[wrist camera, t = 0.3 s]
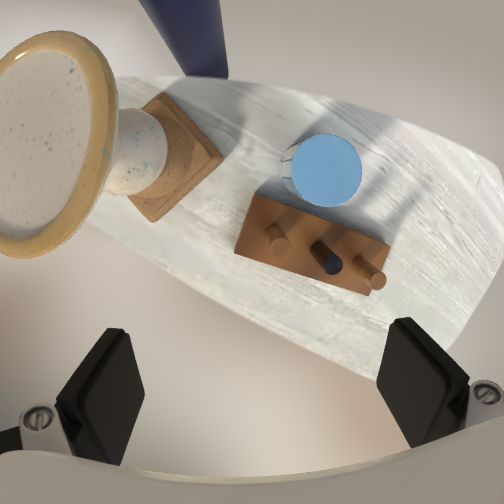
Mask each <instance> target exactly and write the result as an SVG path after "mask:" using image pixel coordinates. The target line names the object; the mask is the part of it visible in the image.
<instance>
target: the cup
mask: <svg viewBox="0 0 504 504" xmlns="http://www.w3.org/2000/svg"><path fill="white" fill-rule="evenodd" d="M280 162H282V163H280V177H282V178H281V180H282V182H283V184H284V185H285V187H286V189H287V190H288V191H289V192H290V193H292V194H294V195H295V196H297V197H299V198H301V199H303V200H305V201H307V202H309V203H312V204H314V205H317V206H323V207H333V206H338V205H341V204H343V203H345V202H346V201H348V200H349V199H350V198H351V197H352V196H353V195H354V194H355V192H356V191H357V189H358V187H359V185H360V182H361V177H362V166H361V161H360V158H359V156H358V154H357V152H356V150H355V149H354V148H353V146H352V145H351V144H350V143H348V142H347V141H346V140H344V139H343V138H341V137H339V136H336V135H332V134H317V135H314V136H312V137H310V138H308V139H306V140H304V141H302V142H300V143H298V144H296V145H294V146H292V147H290V148H289V149H288V150H287V151H286V153H285V154H284V156H283V158H282V159H281V161H280Z"/></svg>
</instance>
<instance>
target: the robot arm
mask: <svg viewBox="0 0 504 504" xmlns="http://www.w3.org/2000/svg"><path fill="white" fill-rule="evenodd" d="M469 379H470V377H469V376H468V375H467V374H466V373H465V372H464V370H463V369H462V368H461V367H460V366H458V364H457V363H456V362H455V361H454V360H453V359H452V358H451V357H450V356H449V355H448V354H447V353H446V352H445V351H444V350H443V349H442V348H441V347H440V346H439V345H438V344H437V343H436V342H435V341H434V340H433V339H432V338H431V337H430V336H429V335H428V334H427V333H426V332H425V331H424V330H423V329H422V328H421V327H420V326H419V325H418V324H417V323H416V322H415V321H414V320H413V319H412V318H410V317H405V318H398V319H395V320H394V322H393V323H392V324H391V325H390V327H389V332H388V336H387V341H386V345H385V349H384V353H383V357H382V361H381V365H380V369H379V373H378V376H377V381H376V383H377V388H378V390H379V391H380V393H381V395H382V397H383V399H384V400H385V402H386V403H387V406H388V407H389V409H390V411H391V413H392V415H393V416H394V418H395V420H396V422H397V424H398V425H399V427H400V429H401V431H402V433H403V435H404V436H405V438H406V440H407V442H408V444H409V446H410V447H411V448H412V449H409V450H406V451H403V452H400V453H397V454H394V455H390V456H386V457H383V458H379V459H375V460H371V461H367V462H363V463H358V464H354V465H349V466H344V467H339V468H334V469H328V470H321V471H315V472H307V473H299V474H291V475H280V476H265V477H201V476H186V475H174V474H165V473H158V472H151V471H144V470H137V469H132V468H126V467H121V466H120V464H121V461H122V458H123V456H124V453H125V450H126V447H127V444H128V441H129V438H130V436H131V433H132V430H133V427H134V424H135V422H136V419H137V416H138V414H139V411H140V408H141V406H142V402H143V400H144V396H145V392H144V388H143V384H142V381H141V377H140V374H139V370H138V367H137V363H136V360H135V355H134V351H133V348H132V344H131V339H130V336H129V334H128V333H125V331H124V330H123V329H117V328H107V329H106V331H105V332H104V333H103V335H102V336H101V337H100V338H99V340H98V341H97V342H96V344H95V345H94V346H93V348H92V349H91V350H90V352H89V353H88V354H87V356H86V357H85V359H84V360H83V361H82V363H81V364H80V365H79V367H78V368H77V369H76V371H75V372H74V373H73V375H72V376H71V378H70V379H69V380H68V382H67V383H66V385H65V386H64V388H63V389H62V391H61V392H60V394H59V395H58V396H57V398H56V401H57V402H56V404H55V405H54V406H53V405H51V404H49V403H45V402H39V403H34V404H31V405H29V406H28V407H26V408H25V409H24V410H23V411H22V413H21V415H20V417H19V426H17V427H14V428H11V429H8V430H4V431H1V432H0V504H504V391H503V390H502V388H501V387H500V386H499V385H498V384H496V383H494V382H492V381H489V380H478V381H476V382H474V383H473V384H472V385H471V386H469V385H468V381H469Z"/></svg>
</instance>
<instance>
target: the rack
mask: <svg viewBox="0 0 504 504" xmlns="http://www.w3.org/2000/svg"><path fill="white" fill-rule="evenodd" d="M390 247H391V246H389V245H387V244H385V243H383V242H381V241H378V240H376V239H374V238H371V237H369V236H366V235H364V234H361V233H359V232H357V231H354V230H352V229H349V228H347V227H344V226H342V225H339V224H336V223H334V222H331V221H329V220H326V219H324V218H321V217H318V216H316V215H313V214H311V213H308V212H305V211H303V210H300V209H297V208H294V207H292V206H289V205H286V204H283V203H281V202H278V201H275V200H272V199H269V198H267V197H264V196H261V195H258V194H255V193H254V194H253V197H252V200H251V203H250V206H249V208H248V211H247V214H246V217H245V220H244V223H243V226H242V229H241V231H240V234H239V237H238V240H237V243H236V246H235V249H234V253H235V254H238V255H241V256H244V257H247V258H250V259H253V260H256V261H260V262H263V263H266V264H269V265H272V266H275V267H278V268H281V269H284V270H287V271H290V272H294V273H297V274H300V275H303V276H306V277H309V278H312V279H315V280H319V281H322V282H325V283H328V284H331V285H334V286H337V287H340V288H344V289H347V290H350V291H353V292H356V293H359V294H362V295H366V296H369V295H370V292H371V290H372V289H373V290H380V289H382V288H383V287H384V286H385V284H386V276H385V274H384V273H383V272H381V268H382V266H383V264H384V262H385V259H386V257H387V254H388V252H389V250H390Z"/></svg>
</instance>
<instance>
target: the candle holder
mask: <svg viewBox="0 0 504 504" xmlns="http://www.w3.org/2000/svg"><path fill="white" fill-rule="evenodd" d="M223 160H224V158H223V156H222V155H221V154H220V152H219V151H218V150H217V149H216V147H215V146H214V145H213V144H212V143H211V142H210V141H209V140H208V138H207V137H206V136H205V135H204V134H203V133H202V132H201V131H200V130H199V128H198V127H197V126H196V125H195V124H194V123H193V122H192V121H191V120H190V119H189V118H188V116H187V115H186V114H185V113H184V112H183V111H182V110H181V109H180V108H179V107H178V106H177V105H176V104H175V103H174V102H173V101H172V100H171V99H170V98H169V97H168V96H167V95H166V94H164V93H163V92H162V93H160V94H158V95H157V96H156V97H155V98H153V99H152V100H151V101H150V102H148V103H147V104H146V105H145V106H144V107H143V108H142V109H141V110H139V109H132V108H126V109H120V110H119V101H118V91H117V87H116V83H115V79H114V75H113V72H112V70H111V68H110V66H109V63H108V61H107V59H106V58H105V56H104V55H103V54H102V52H101V51H100V50H99V48H98V47H97V46H95V45H94V44H93V43H92V42H91V41H89V40H88V39H87V38H85V37H82V36H80V35H78V34H76V33H73V32H68V31H49V32H45V33H42V34H38V35H36V36H33V37H31V38H29V39H27V40H25V41H24V42H22V43H20V44H19V45H18V46H16V47H15V48H13V49H12V50H11V51H9V52H8V53H7V54H6V55H5V56H4V57H3V58H2V59H1V60H0V252H1V253H3V254H4V255H7V256H10V257H13V258H17V259H22V258H23V259H29V258H34V257H38V256H42V255H44V254H47V253H49V252H51V251H53V250H55V249H56V248H58V247H59V246H61V245H62V244H63V243H64V242H66V241H67V240H68V239H70V238H71V237H72V236H73V234H74V233H75V232H76V231H77V230H78V229H79V228H80V227H81V226H82V224H83V223H84V222H85V220H86V219H87V217H88V216H89V214H90V213H91V211H92V210H93V208H94V206H95V204H96V203H97V201H98V199H99V197H100V195H101V193H102V191H105V192H107V193H109V194H112V195H118V196H127V197H128V198H129V199H130V200H131V202H132V203H133V204H134V205H135V206H136V207H137V209H138V210H139V211H140V212H141V213H142V214H143V215H144V216H145V217H146V218H147V219H148V220H149V221H150V222H152V223H153V222H156V221H157V220H159V219H160V218H162V217H163V216H164V215H165V214H166V213H167V212H168V211H169V210H171V209H172V208H173V207H174V206H175V205H176V204H177V203H178V202H179V201H180V200H181V199H182V198H183V197H184V196H186V195H187V194H188V193H189V192H190V191H191V190H192V189H193V188H194V187H195V186H197V185H198V184H199V183H200V182H201V181H202V180H203V179H204V178H206V177H207V176H208V175H209V174H210V173H211V172H212V171H214V170H215V169H216V168H217V167H218V166H219V165H220V164H221V163H222V162H223Z"/></svg>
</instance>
